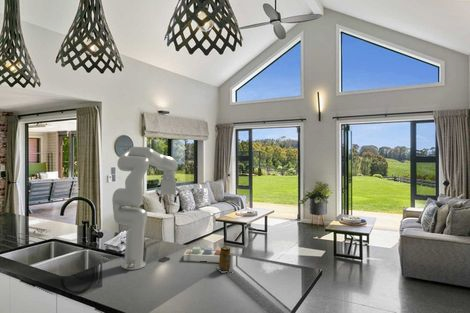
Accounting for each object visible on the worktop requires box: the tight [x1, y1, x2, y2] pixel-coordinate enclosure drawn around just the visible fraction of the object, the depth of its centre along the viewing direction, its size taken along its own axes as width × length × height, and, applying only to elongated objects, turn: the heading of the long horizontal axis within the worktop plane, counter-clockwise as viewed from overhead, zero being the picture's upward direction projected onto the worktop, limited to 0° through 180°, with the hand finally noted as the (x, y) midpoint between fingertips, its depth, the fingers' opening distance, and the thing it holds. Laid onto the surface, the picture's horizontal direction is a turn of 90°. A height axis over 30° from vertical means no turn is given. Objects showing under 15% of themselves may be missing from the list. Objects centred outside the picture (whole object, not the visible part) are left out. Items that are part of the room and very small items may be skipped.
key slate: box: [203, 246, 213, 255], centre depth 179 cm, size 4×4×4 cm
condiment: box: [218, 246, 234, 274], centre depth 162 cm, size 7×8×12 cm
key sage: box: [191, 246, 202, 254], centre depth 179 cm, size 4×4×4 cm
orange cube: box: [215, 247, 222, 255], centre depth 179 cm, size 4×4×4 cm
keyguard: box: [183, 248, 220, 263], centre depth 179 cm, size 10×25×4 cm, turn 90°
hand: (167, 202), depth 203 cm, fingers open, 9 cm apart
